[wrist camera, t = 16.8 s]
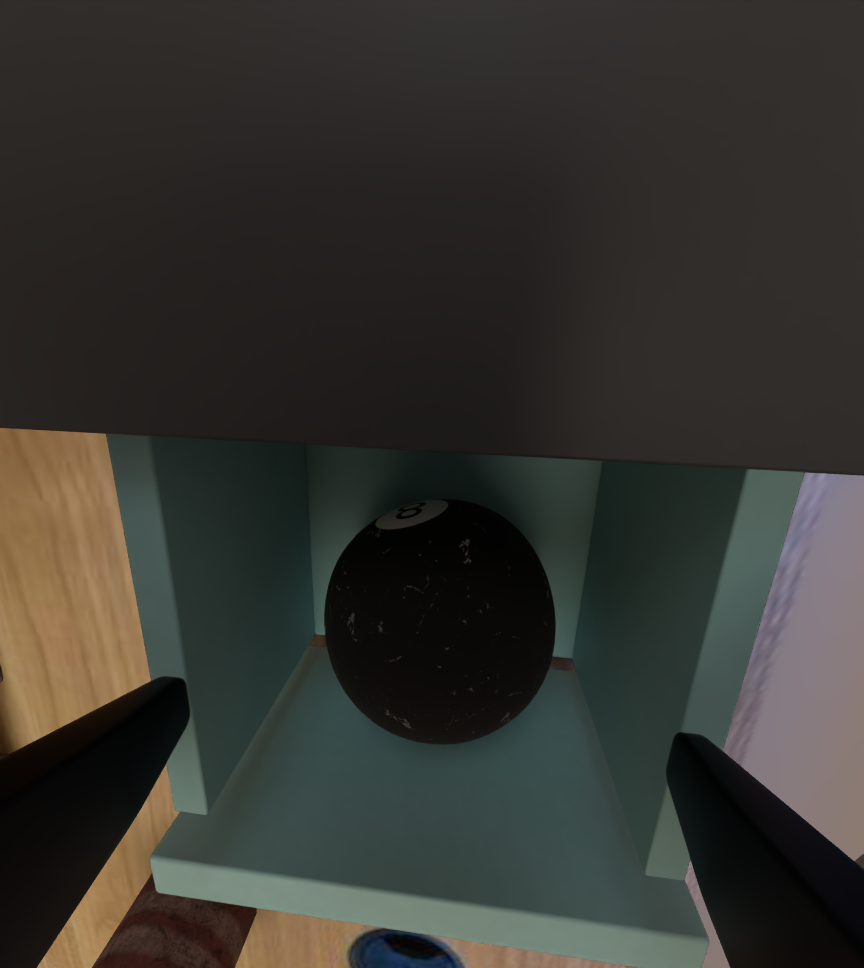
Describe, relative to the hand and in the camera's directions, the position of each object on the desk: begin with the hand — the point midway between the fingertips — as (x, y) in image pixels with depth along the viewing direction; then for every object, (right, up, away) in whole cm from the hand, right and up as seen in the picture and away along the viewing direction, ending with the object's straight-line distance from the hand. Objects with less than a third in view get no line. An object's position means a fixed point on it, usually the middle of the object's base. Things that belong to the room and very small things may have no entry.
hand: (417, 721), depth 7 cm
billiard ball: (+1, +2, +7) cm, 7 cm away
